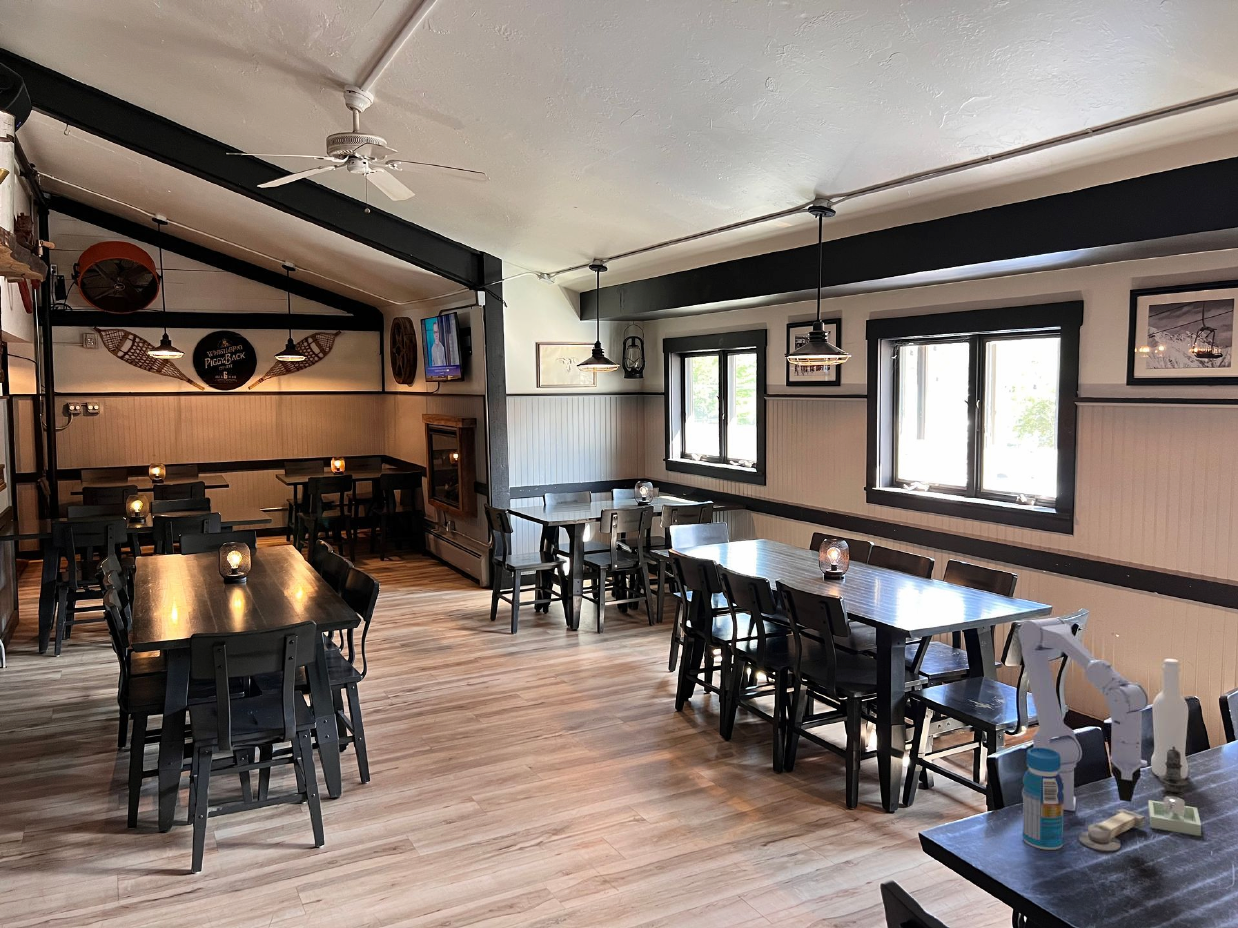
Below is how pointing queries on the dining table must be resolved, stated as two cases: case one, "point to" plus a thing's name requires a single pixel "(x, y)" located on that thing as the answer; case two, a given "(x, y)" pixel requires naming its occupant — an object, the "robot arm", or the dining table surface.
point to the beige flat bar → (1115, 826)
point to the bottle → (1169, 720)
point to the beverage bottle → (1043, 800)
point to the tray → (1187, 826)
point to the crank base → (1109, 846)
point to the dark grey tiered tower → (1173, 776)
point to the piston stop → (1174, 808)
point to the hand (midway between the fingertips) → (1125, 799)
